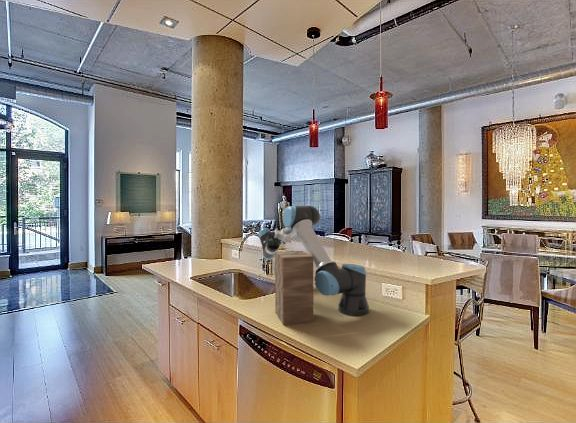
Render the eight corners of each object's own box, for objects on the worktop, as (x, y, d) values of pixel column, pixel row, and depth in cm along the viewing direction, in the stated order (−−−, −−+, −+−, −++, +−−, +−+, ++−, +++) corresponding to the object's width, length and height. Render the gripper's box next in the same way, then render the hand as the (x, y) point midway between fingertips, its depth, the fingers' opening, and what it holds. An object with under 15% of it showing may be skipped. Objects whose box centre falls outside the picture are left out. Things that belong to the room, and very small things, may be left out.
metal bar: (273, 236, 183) (273, 231, 183) (278, 236, 184) (278, 231, 184) (285, 242, 158) (285, 236, 158) (290, 242, 159) (290, 236, 159)
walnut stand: (275, 312, 156) (275, 251, 155) (302, 310, 160) (302, 250, 159) (283, 325, 141) (283, 257, 140) (313, 322, 144) (313, 255, 143)
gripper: (285, 251, 195) (295, 236, 175) (259, 252, 191) (266, 237, 171) (284, 240, 198) (293, 224, 178) (258, 241, 194) (265, 224, 174)
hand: (280, 230), depth 175 cm, fingers closed on metal bar, 3 cm apart
